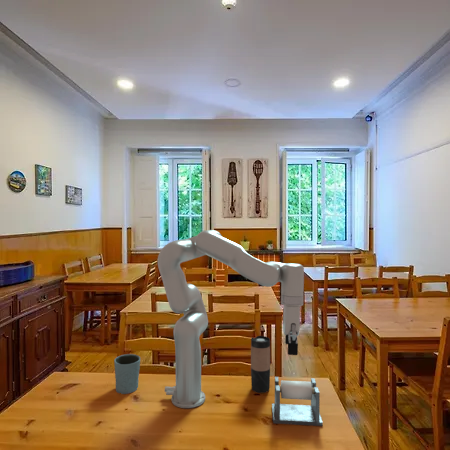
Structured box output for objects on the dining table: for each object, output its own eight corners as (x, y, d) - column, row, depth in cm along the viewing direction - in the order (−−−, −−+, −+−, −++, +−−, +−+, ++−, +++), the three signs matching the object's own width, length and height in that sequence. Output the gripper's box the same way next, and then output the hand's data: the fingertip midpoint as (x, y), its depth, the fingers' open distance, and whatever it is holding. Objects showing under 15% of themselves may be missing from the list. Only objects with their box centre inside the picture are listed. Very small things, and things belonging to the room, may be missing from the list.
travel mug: (269, 394, 131) (269, 342, 131) (249, 392, 132) (249, 341, 132) (270, 385, 138) (270, 336, 138) (252, 383, 140) (252, 335, 140)
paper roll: (277, 401, 114) (277, 385, 114) (276, 392, 120) (276, 377, 120) (317, 403, 113) (317, 386, 113) (314, 394, 118) (314, 378, 118)
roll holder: (273, 423, 112) (273, 390, 112) (271, 406, 122) (271, 376, 122) (322, 426, 111) (322, 392, 110) (317, 409, 121) (317, 378, 120)
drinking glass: (121, 381, 141) (121, 353, 141) (144, 383, 140) (144, 354, 140) (109, 394, 131) (109, 363, 131) (134, 396, 130) (134, 364, 130)
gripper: (279, 293, 125) (278, 339, 126) (283, 305, 108) (281, 358, 108) (300, 294, 125) (299, 340, 125) (306, 306, 107) (305, 360, 108)
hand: (291, 349), depth 117 cm, fingers open, 9 cm apart
